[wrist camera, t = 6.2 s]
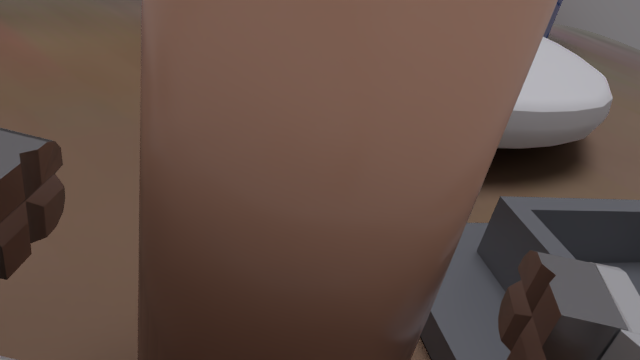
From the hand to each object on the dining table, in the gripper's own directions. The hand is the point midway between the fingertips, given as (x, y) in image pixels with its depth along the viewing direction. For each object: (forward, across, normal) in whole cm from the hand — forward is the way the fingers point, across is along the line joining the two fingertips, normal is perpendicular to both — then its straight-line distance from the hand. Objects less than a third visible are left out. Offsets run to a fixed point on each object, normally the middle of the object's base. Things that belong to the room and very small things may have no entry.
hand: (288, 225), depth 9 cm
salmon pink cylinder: (+1, 0, +8) cm, 8 cm away
